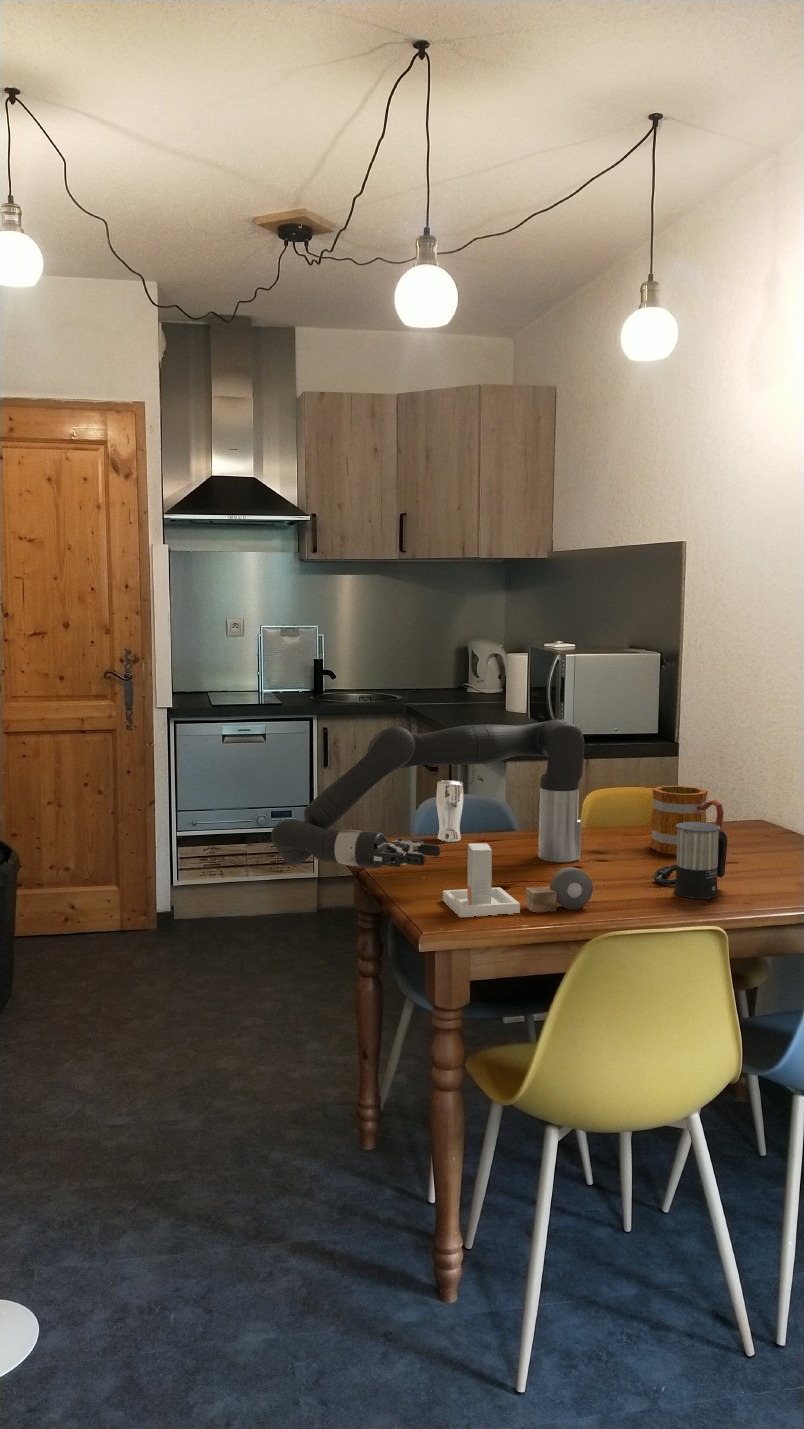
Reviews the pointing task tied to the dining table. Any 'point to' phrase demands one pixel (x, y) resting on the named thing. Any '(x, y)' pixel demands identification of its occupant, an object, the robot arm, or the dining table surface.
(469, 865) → the skincare box
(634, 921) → the dining table surface
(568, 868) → the trolley wheel
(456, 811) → the beer glass
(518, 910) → the tray
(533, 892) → the walnut block
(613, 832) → the dining table surface
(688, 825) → the milk frother
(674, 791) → the mug
